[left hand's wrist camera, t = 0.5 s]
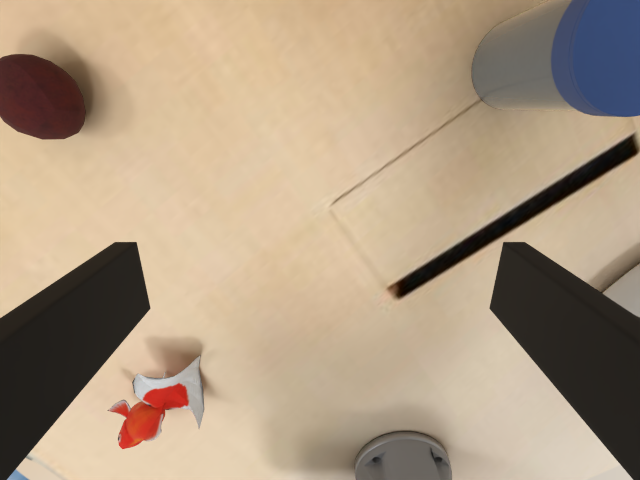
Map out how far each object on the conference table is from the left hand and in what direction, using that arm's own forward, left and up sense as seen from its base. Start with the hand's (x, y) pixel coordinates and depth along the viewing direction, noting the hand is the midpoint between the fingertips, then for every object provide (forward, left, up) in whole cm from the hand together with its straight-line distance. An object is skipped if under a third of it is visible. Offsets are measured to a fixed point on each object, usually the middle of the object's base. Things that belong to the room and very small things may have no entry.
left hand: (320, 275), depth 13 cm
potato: (+6, +27, -28) cm, 39 cm away
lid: (+10, -20, -13) cm, 25 cm away
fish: (-31, +22, -28) cm, 47 cm away
